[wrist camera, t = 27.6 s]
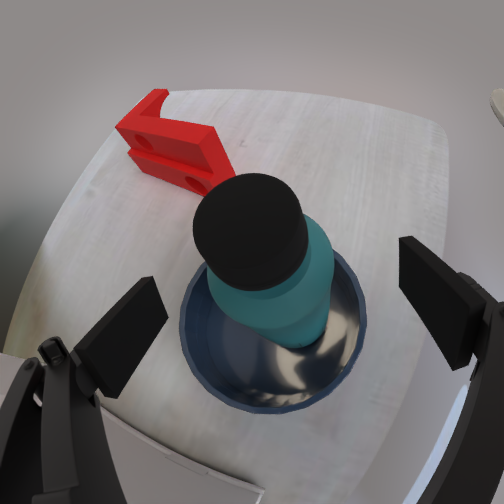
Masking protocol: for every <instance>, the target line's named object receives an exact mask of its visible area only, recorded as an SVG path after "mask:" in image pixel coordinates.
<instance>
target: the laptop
mask: <svg viewBox="0 0 504 504" xmlns="http://www.w3.org/2000/svg"><path fill="white" fill-rule="evenodd" d="M24 361H25V359H21V358H17V357H13V356H9V355H6V354H2V353H0V408H1V405H2V403H3V401H4V399H5V396H6V394H7V392H8V390H9V388H10V386H11V384H12V382H13V380H14V378H15V376H16V374H17V372H18V370H19V368H20V366H21V365H22V364H23V363H24ZM41 364H42V366H44V365H47V364H44V363H41ZM33 399H34V400H35V401H36V402H37V404H38V405H39V406H40V407H41V405H42V402H41V401H40V400H39V399H38V397H37V396H36V395H35V393H34V396H33ZM100 409H101V414H102V419H103V424H104V428H105V433H106V437H107V441H108V445H109V449H110V452H111V456H112V459H113V463H114V466H115V469H116V473H117V476H118V479H119V482H120V485H121V488H122V490H123V493H124V496H125V499H126V501H127V504H259V502H260V499H261V497H262V495H263V493H264V491H265V489H264V488H263V487H259V486H256V485H253V484H250V483H247V482H244V481H241V480H238V479H235V478H233V477H230V476H227V475H225V474H222V473H220V472H217V471H215V470H212V469H210V468H208V467H205V466H203V465H201V464H199V463H196V462H194V461H192V460H190V459H188V458H186V457H184V456H182V455H180V454H178V453H176V452H174V451H172V450H170V449H168V448H166V447H164V446H163V445H161V444H159V443H157V442H155V441H154V440H152V439H150V438H148V437H147V436H145V435H143V434H142V433H140V432H138V431H137V430H135V429H134V428H132V427H131V426H129V425H127V424H126V423H124V422H123V421H121V420H120V419H118V418H117V417H115V416H114V415H113V414H111V413H110V412H108V411H107V410H106V409H104V408H103V407H101V406H100Z"/></svg>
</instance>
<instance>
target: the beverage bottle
mask: <svg viewBox="0 0 504 504" xmlns="http://www.w3.org/2000/svg"><path fill="white" fill-rule="evenodd" d="M193 237H194V241H195V244H196V247H197V249H198V251H199V253H200V254H201V255H202V257H203V258H204V259H205V261H206V263H207V278H208V285H209V289H210V292H211V294H212V297H213V298H214V300H215V302H216V303H217V305H218V306H219V307H220V309H221V310H222V311H223V312H224V313H225V314H226V315H228V316H229V317H230V318H232V319H233V320H235V321H237V322H238V323H240V324H242V325H245V326H247V327H249V328H251V329H252V330H254V331H256V332H257V333H258V334H260V335H261V336H262V337H264V338H266V339H269V340H271V341H273V342H275V343H277V344H279V345H281V346H283V347H287V348H292V350H295V349H293V348H296V349H297V348H301V347H302V348H303V347H305V346H307V345H309V344H311V343H313V342H314V341H316V340H317V339H318V338H319V337H320V336H321V334H322V333H323V331H324V330H325V327H326V325H328V324H329V323H328V322H329V321H328V319H330V317H329V316H328V313H329V307H330V306H329V305H330V300H331V297H330V292H331V291H330V290H331V283H332V279H333V274H334V255H333V250H332V246H331V243H330V241H329V239H328V237H327V235H326V234H325V232H324V231H323V229H322V228H321V227H320V226H319V225H318V224H317V223H316V222H315V221H314V220H313V219H311V218H310V217H308V216H307V215H305V214H303V213H302V209H301V206H300V203H299V200H298V199H297V197H296V195H295V194H294V192H293V191H292V190H291V188H290V187H289V186H288V185H287V184H285V183H284V182H283V181H281V180H279V179H278V178H275V177H273V176H270V175H266V174H260V173H248V174H241V175H238V176H234V177H232V178H229V179H227V180H225V181H223V182H221V183H220V184H218V185H217V186H215V187H214V188H213V189H212V190H211V191H210V192H209V193H208V194H207V195H206V196H205V197H204V198H203V200H202V201H201V203H200V204H199V206H198V208H197V210H196V212H195V216H194V220H193ZM332 296H333V295H332ZM328 317H329V318H328ZM327 321H328V322H327ZM324 332H325V331H324ZM266 339H265V340H266ZM268 342H270V341H268ZM271 343H272V342H271ZM281 348H282V347H281Z"/></svg>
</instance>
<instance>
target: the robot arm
mask: <svg viewBox="0 0 504 504" xmlns="http://www.w3.org/2000/svg"><path fill="white" fill-rule="evenodd" d="M399 288H400V289H401V290H402V292H403V293H404V295H405V296H406V297H407V299H408V300H409V302H410V303H411V305H412V306H413V308H414V309H415V311H416V312H417V314H418V315H419V317H420V318H421V320H422V321H423V323H424V324H425V326H426V327H427V329H428V331H429V332H430V334H431V335H432V337H433V338H434V340H435V342H436V343H437V345H438V347H439V348H440V350H441V352H442V353H443V355H444V357H445V359H446V360H447V362H448V364H449V366H450V367H451V369H452V371H454V370H457V369H459V368H462V367H465V366H467V365H469V362H470V360H471V357H472V354H473V353H474V355H475V356H476V358H477V363H476V365H475V368H474V370H473V373H472V375H471V378H470V381H471V383H470V387H469V390H468V393H467V397H466V400H465V403H464V406H463V409H462V411H461V414H460V417H459V420H458V422H457V425H456V427H455V430H454V432H453V435H452V437H451V440H450V442H449V444H448V446H447V449H446V451H445V453H444V455H443V457H442V459H441V461H440V463H439V465H438V467H437V469H436V471H435V473H434V475H433V476H432V478H431V480H430V482H429V484H428V485H427V487H426V489H425V490H424V492H423V494H422V495H421V497H420V499H419V500H418V502H417V503H416V504H491V502H492V499H493V497H494V495H495V492H496V490H497V487H498V484H499V482H500V479H501V476H502V474H503V470H504V302H499V303H498V302H497V301H496V300H495V299H494V298H493V297H492V296H491V295H490V294H489V293H488V292H487V291H486V290H485V289H484V288H482V287H481V286H480V285H479V284H477V282H476V281H475V280H474V279H472V278H471V277H470V276H468V275H466V274H464V273H461V272H460V273H456V272H455V271H454V270H453V269H452V268H451V267H449V266H448V265H447V264H446V263H445V262H444V261H442V260H441V259H440V258H439V257H438V256H437V255H435V254H434V253H433V252H432V251H431V250H429V249H428V248H427V247H426V246H424V245H423V244H422V243H421V242H419V241H418V240H417V239H416V238H414V237H413V236H407V237H401V238H399ZM168 318H169V317H168V315H167V312H166V310H165V307H164V304H163V302H162V299H161V297H160V294H159V291H158V289H157V286H156V283H155V280H154V278H153V276H150V277H143V278H141V279H140V280H139V281H138V282H137V283H136V284H135V285H134V286H133V287H132V288H131V289H130V290H129V291H128V292H127V293H126V294H125V295H124V296H123V297H122V298H121V299H120V300H119V301H118V302H117V303H116V304H115V305H114V306H113V307H112V308H111V309H110V310H109V311H108V312H107V313H106V314H105V315H104V316H103V317H102V318H101V319H100V320H99V321H98V322H97V323H96V324H95V326H94V327H93V328H92V329H91V330H90V331H89V332H88V333H87V334H86V335H85V336H84V337H83V338H82V339H81V341H80V342H79V343H78V344H77V345H76V346H75V347H74V348H73V349H74V350H73V351H72V352H71V353H70V354H69V352H68V350H67V349H66V347H65V345H64V344H63V342H62V340H61V338H60V337H58V336H57V337H52V338H49V339H47V340H46V341H44V342H43V343H42V344H41V345H40V346H39V347H38V351H39V353H40V355H41V356H42V358H43V360H44V361H45V363H46V364H47V365H44V366H42V364H41V363H40V361H39V359H38V358H36V357H32V358H28V359H27V360H25V361H24V363H23V364H22V365H21V366H20V368H19V370H18V372H17V374H16V376H15V378H14V380H13V382H12V384H11V386H10V388H9V390H8V392H7V394H6V396H5V399H4V401H3V403H2V405H1V408H0V504H127V501H126V499H125V496H124V493H123V490H122V488H121V485H120V482H119V479H118V476H117V473H116V469H115V466H114V463H113V459H112V456H111V452H110V449H109V445H108V441H107V437H106V433H105V428H104V424H103V419H102V414H101V409H100V403H99V398H98V396H97V395H96V393H95V391H96V389H97V388H99V389H100V391H101V392H102V394H103V395H104V396H105V397H109V398H115V399H117V398H118V397H119V395H120V393H121V392H122V390H123V389H124V387H125V385H126V384H127V382H128V380H129V379H130V377H131V376H132V374H133V372H134V371H135V369H136V368H137V366H138V364H139V363H140V361H141V360H142V358H143V357H144V355H145V353H146V352H147V350H148V349H149V347H150V346H151V344H152V343H153V341H154V339H155V338H156V336H157V335H158V333H159V332H160V330H161V329H162V327H163V326H164V324H165V323H166V321H167V319H168ZM34 393H35V395H36V396H37V397H38V399H39V400H40V401H41V402H42V405H41V407H40V406H39V405H38V404H37V402H36V401H35V400H34V399H33V396H34Z"/></svg>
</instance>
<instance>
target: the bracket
mask: <svg viewBox="0 0 504 504" xmlns="http://www.w3.org/2000/svg"><path fill="white" fill-rule="evenodd" d="M168 95H169V92H168V90H167V89H154V90H152V91H151V92H150V93H149V94H148V95H147V96H146V97H145V98H144V99H142V100H141V101H140V102H139V103H138V104H137V105H136V106H135V107H134V108H133V109H132V110H131V111H130V112H129V113H128V114H127V115H126V116H125V117H124V118H123V119H122V120H121V121H120V122H119V123H118V124H117V125H116V126H115V128H116V129H117V131H118V132H119V133H120V134H121V136H122V137H123V138H124V140H125V141H126V142H127V143H128V145H129V146H130V147H131V149H130V150H129V151H128V155H129V156H130V157H131V158H132V159H133V161H134V162H135V163H136V164H137V166H138V167H139V168H140V169H141V170H142V172H144V173H147V174H149V175H152V176H154V177H157V178H159V179H162V180H165V181H167V182H170V183H172V184H175V185H177V186H180V187H182V188H185V189H187V190H189V191H192V192H194V193H197V194H199V195H202V196H204V197H205V196H206V195H207V194H208V193H209V192H210V191H211V190H212V189H213V188H214V187H215V186H217V185H218V184H220V183H221V182H223V181H225V180H227V179H229V178H232V177H234V176H236V174H235V172H234V170H233V168H232V166H231V163H230V161H229V159H228V157H227V154H226V152H225V150H224V148H223V146H222V143H221V141H220V139H219V137H218V135H217V133H216V130H215V128H214V127H212V126H207V125H201V124H196V123H190V122H184V121H178V120H171V119H165V118H160V110H161V107H162V104H163V102H164V100H165V99H166V97H167V96H168Z"/></svg>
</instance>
